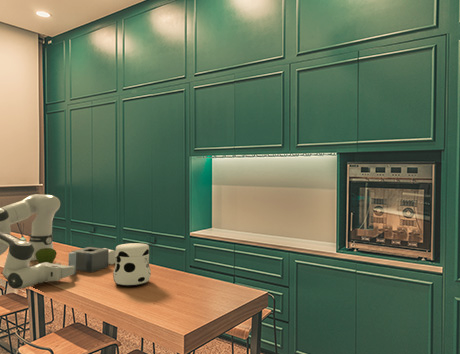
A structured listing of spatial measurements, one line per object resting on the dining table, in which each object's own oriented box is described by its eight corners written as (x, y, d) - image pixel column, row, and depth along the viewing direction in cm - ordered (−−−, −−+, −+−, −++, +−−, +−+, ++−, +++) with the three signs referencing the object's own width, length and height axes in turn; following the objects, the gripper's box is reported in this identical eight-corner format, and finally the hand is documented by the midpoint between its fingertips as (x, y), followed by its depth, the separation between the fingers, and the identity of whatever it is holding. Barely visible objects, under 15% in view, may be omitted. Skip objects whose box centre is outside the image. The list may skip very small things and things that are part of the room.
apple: (30, 266, 202) (31, 248, 202) (45, 262, 212) (46, 245, 212) (46, 268, 199) (46, 250, 199) (60, 264, 209) (60, 246, 209)
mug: (106, 265, 207) (106, 251, 207) (97, 262, 214) (97, 249, 214) (124, 262, 216) (124, 248, 216) (115, 259, 223) (115, 246, 223)
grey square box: (71, 269, 197) (71, 251, 197) (88, 264, 209) (88, 247, 209) (91, 272, 192) (92, 253, 192) (108, 266, 204) (108, 249, 204)
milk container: (158, 282, 177) (158, 245, 177) (131, 291, 162) (132, 251, 162) (132, 276, 186) (132, 241, 186) (105, 285, 171) (105, 246, 171)
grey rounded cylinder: (66, 274, 187) (67, 253, 187) (72, 272, 191) (72, 251, 191) (72, 275, 186) (72, 253, 186) (77, 273, 190) (77, 252, 190)
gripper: (27, 276, 175) (50, 269, 188) (60, 281, 168) (82, 274, 181) (28, 263, 175) (51, 257, 188) (60, 267, 168) (82, 261, 181)
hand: (66, 265), depth 184 cm, fingers open, 8 cm apart
